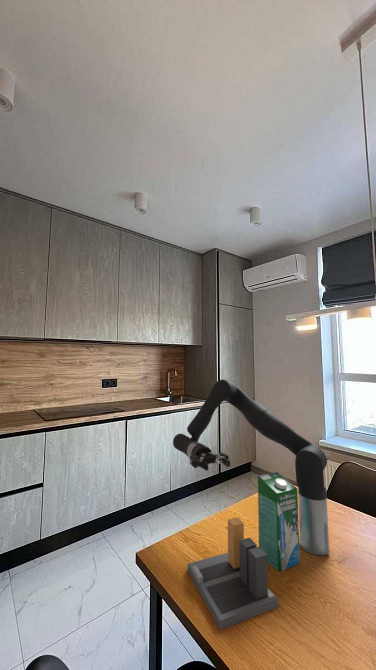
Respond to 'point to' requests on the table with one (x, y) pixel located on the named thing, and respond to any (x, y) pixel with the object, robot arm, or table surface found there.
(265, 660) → the table surface
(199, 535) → the table surface
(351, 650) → the table surface
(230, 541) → the tall tan rectangular block
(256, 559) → the grey slotted tray
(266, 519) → the milk carton
